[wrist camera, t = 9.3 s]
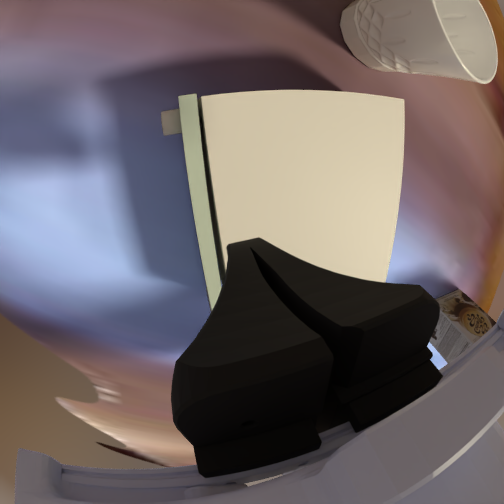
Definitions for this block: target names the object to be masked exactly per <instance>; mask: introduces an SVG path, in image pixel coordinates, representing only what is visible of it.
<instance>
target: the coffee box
mask: <svg viewBox="0 0 504 504" xmlns="http://www.w3.org/2000/svg"><path fill="white" fill-rule="evenodd" d="M435 300H436V301H437V302H438V303H439V306H440V316H439V320H438V323H437V326H436V328H435V330H434V332H433V335H432V337H431V339H430V341H429V342H430V343H431V344H432V345H433V346H434V347H435V349H436V350H437V351H438V352H439V353H440V354H441V356H442V357H443V358H444V359H445V361H446V362H447V363H450V362H451V361H452V360H454V359H455V358H456V357H458V356H459V355H460V354H462V353H463V352H464V351H465V350H467V349H468V348H469V347H470V346H471V345H473V344H474V343H475V342H476V341H477V340H479V339H480V338H481V337H482V336H483V335H484V334H485V333H487V332H488V331H489V330H490V329H491V328H492V327H493V326H494V325H495V324H496V322H495V321H494V320H493V319H492V318H491V317H490V316H489V315H488V314H487V313H486V312H484V311H483V310H482V309H481V308H480V307H479V306H478V305H477V304H476V303H475V302H474V301H473V300H471V299H470V298H469V297H468V296H467V295H466V294H465V293H463V292H462V291H461V290H460V289H458V290H456V291H454V292H452V293H449V294H447V295H445V296H442V297H440V298H437V299H435Z"/></svg>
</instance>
